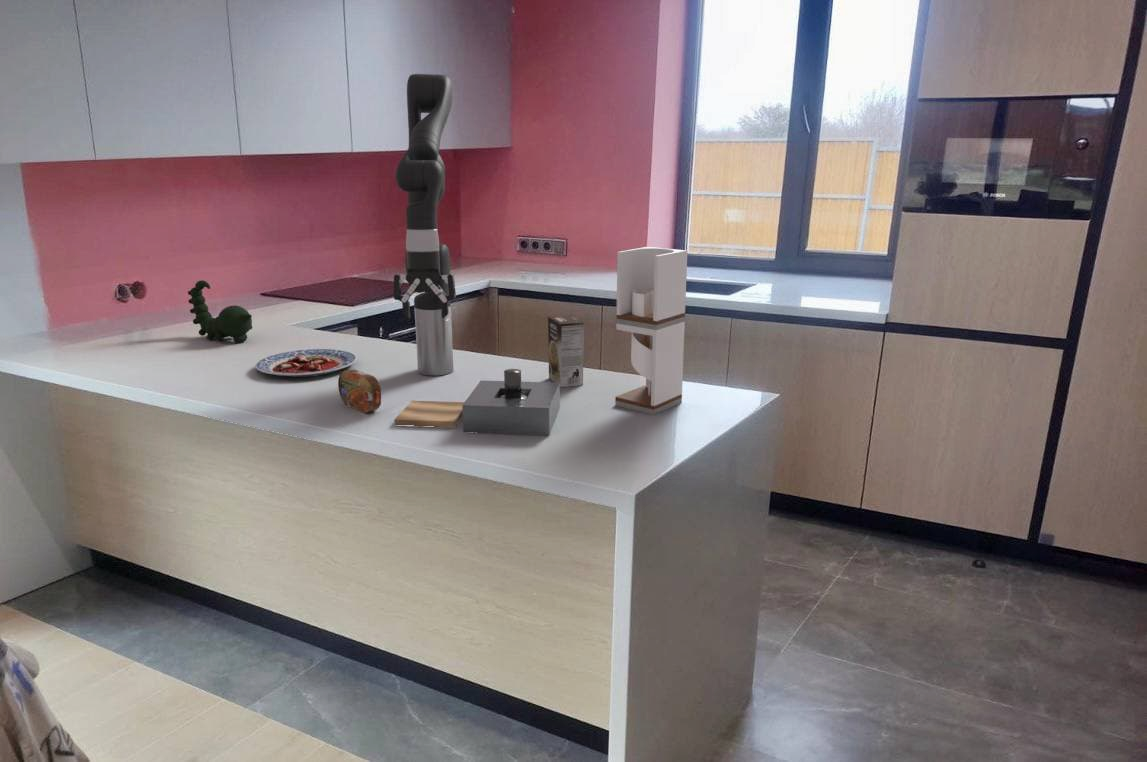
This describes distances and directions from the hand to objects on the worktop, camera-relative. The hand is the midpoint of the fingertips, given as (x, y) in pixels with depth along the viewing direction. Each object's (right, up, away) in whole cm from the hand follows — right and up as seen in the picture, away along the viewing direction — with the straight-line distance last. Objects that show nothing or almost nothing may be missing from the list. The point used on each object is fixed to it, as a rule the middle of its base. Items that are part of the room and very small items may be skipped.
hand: (425, 317), depth 193 cm
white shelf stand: (+52, -20, -6) cm, 57 cm away
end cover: (+22, -22, -17) cm, 35 cm away
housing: (+22, -23, -16) cm, 36 cm away
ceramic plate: (-36, -12, +24) cm, 45 cm away
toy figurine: (-71, -3, +54) cm, 89 cm away
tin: (-13, -21, -8) cm, 26 cm away
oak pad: (+4, -23, -15) cm, 28 cm away
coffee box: (+33, -15, +11) cm, 38 cm away
